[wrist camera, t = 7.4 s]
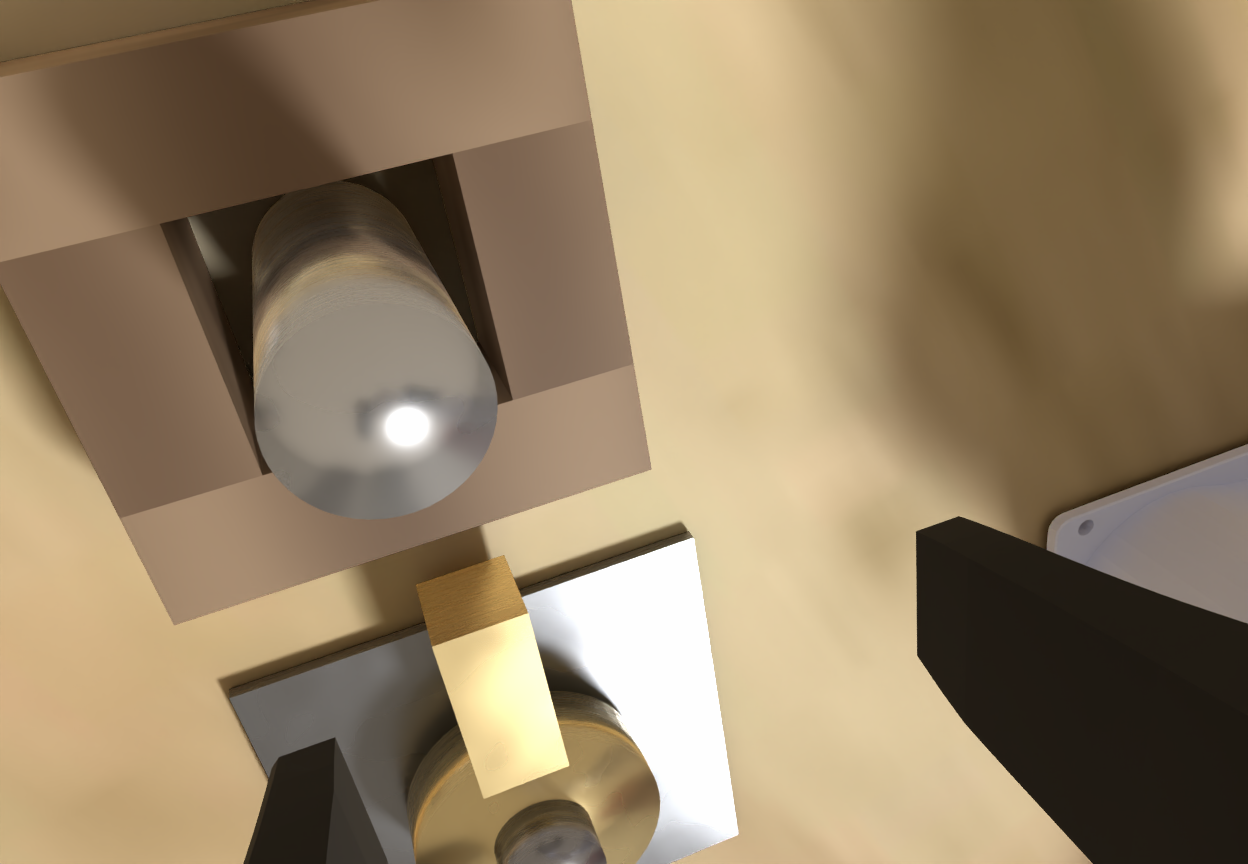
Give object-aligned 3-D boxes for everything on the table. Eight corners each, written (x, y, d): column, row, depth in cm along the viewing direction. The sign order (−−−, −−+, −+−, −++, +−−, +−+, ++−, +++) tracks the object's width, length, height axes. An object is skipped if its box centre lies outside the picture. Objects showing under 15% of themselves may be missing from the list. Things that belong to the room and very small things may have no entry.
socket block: (517, -41, 17) (565, -38, 14) (603, 407, 21) (651, 469, 19) (-38, 70, 15) (-96, 96, 13) (183, 536, 20) (174, 625, 17)
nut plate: (688, 531, 24) (693, 537, 23) (734, 826, 29) (738, 834, 29) (229, 689, 21) (228, 698, 21) (372, 978, 27) (373, 988, 27)
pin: (392, 162, 18) (464, 272, 12) (436, 311, 19) (520, 476, 13) (226, 205, 17) (215, 344, 11) (285, 356, 19) (302, 550, 13)
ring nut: (588, 526, 22) (631, 600, 20) (652, 818, 27) (692, 906, 24) (323, 615, 21) (334, 706, 18) (441, 904, 26) (461, 1006, 23)
